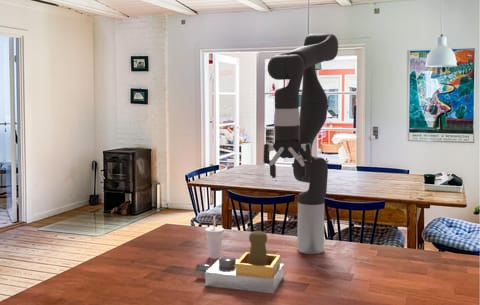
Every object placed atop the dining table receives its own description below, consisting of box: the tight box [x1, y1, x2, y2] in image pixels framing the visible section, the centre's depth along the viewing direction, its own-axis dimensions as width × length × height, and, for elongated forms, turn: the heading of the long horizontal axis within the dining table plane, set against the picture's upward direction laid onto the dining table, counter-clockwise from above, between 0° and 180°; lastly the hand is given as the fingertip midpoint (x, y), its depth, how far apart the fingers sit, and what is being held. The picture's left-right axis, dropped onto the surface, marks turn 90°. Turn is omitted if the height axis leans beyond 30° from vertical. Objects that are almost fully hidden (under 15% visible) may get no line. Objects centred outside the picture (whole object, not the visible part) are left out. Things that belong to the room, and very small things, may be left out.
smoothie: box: [204, 215, 225, 260], centre depth 163 cm, size 6×6×14 cm
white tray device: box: [195, 251, 284, 294], centre depth 142 cm, size 13×25×7 cm, turn 73°
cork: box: [248, 230, 268, 266], centre depth 140 cm, size 6×6×11 cm
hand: (287, 177), depth 145 cm, fingers open, 8 cm apart
